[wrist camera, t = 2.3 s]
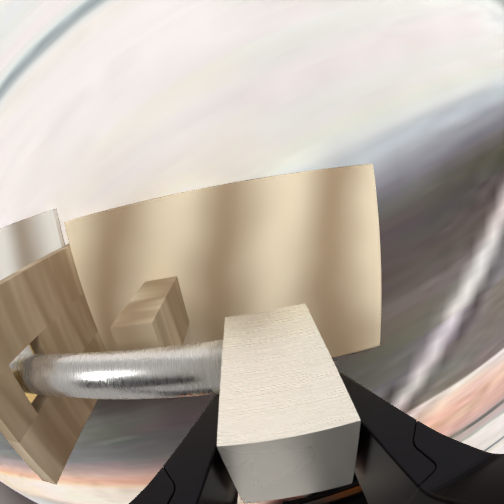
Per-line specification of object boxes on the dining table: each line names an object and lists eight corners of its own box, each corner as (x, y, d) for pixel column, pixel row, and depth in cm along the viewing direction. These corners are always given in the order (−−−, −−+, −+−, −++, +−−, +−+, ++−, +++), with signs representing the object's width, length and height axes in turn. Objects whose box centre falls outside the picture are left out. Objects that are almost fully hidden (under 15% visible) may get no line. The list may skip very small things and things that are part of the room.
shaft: (305, 303, 11) (360, 420, 5) (311, 366, 12) (352, 483, 6) (-42, 338, 11) (-95, 384, 5) (-23, 377, 12) (-67, 427, 6)
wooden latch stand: (363, 148, 16) (514, 134, 5) (373, 349, 20) (450, 464, 9) (-21, 237, 16) (-123, 283, 5) (37, 384, 20) (-22, 467, 9)
